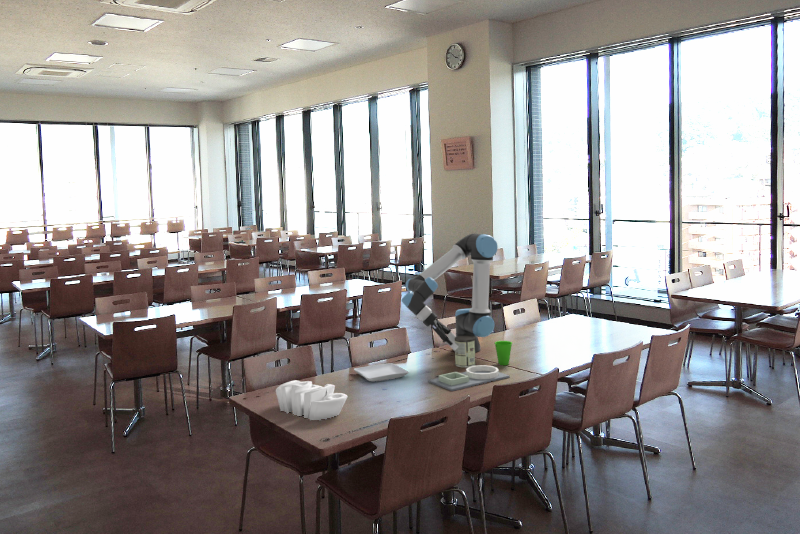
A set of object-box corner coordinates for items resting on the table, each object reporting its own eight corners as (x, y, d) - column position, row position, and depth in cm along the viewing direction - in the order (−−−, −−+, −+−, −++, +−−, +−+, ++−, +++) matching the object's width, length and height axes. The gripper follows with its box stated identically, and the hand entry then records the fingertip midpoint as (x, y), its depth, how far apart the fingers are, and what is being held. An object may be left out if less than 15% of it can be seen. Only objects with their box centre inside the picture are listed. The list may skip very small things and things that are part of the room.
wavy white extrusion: (268, 407, 284) (266, 383, 283) (299, 398, 296) (298, 374, 295) (321, 425, 260) (320, 399, 259) (353, 414, 272) (352, 389, 271)
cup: (512, 366, 336) (512, 345, 334) (494, 366, 338) (493, 344, 336) (513, 361, 344) (512, 340, 343) (495, 361, 346) (494, 340, 345)
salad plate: (352, 374, 332) (352, 367, 332) (392, 368, 340) (392, 361, 340) (368, 385, 313) (368, 378, 312) (409, 378, 321) (409, 371, 321)
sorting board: (428, 382, 314) (428, 374, 313) (484, 369, 332) (484, 362, 331) (451, 391, 299) (451, 383, 298) (509, 377, 317) (509, 370, 316)
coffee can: (459, 361, 348) (458, 334, 347) (478, 363, 344) (477, 336, 342) (452, 366, 339) (451, 339, 338) (471, 368, 335) (471, 340, 333)
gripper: (424, 316, 353) (453, 344, 353) (419, 326, 329) (450, 356, 329) (434, 306, 352) (463, 335, 352) (430, 315, 328) (461, 346, 327)
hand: (457, 345), depth 340 cm, fingers open, 13 cm apart
